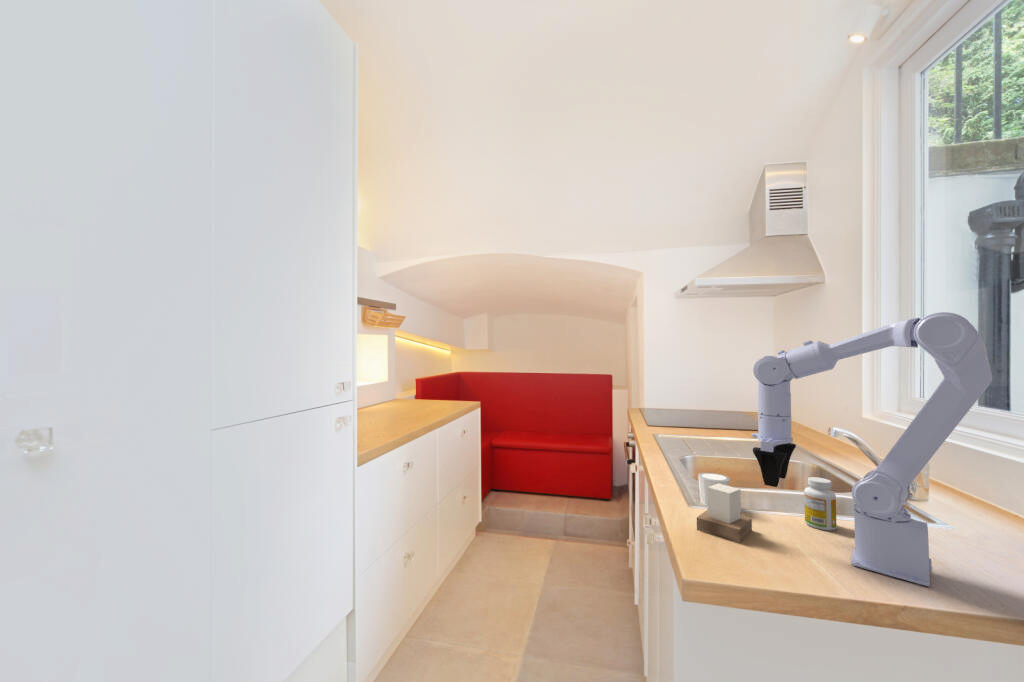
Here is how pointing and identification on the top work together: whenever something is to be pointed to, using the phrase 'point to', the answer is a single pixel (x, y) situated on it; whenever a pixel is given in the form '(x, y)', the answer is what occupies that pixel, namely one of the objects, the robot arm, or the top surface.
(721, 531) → the walnut block
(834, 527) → the supplement bottle
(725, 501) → the cream block
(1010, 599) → the top surface
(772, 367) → the robot arm
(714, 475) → the white cup
